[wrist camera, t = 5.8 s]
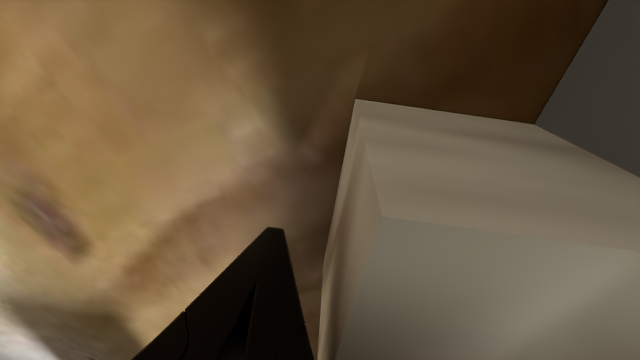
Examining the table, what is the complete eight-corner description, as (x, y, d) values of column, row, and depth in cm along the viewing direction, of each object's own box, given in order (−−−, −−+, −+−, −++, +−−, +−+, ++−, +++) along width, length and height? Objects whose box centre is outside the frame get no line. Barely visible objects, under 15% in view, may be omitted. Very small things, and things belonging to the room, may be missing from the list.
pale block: (442, 277, 12) (513, 450, 7) (323, 261, 12) (313, 424, 7) (534, 124, 8) (845, 280, 3) (355, 98, 8) (381, 215, 3)
